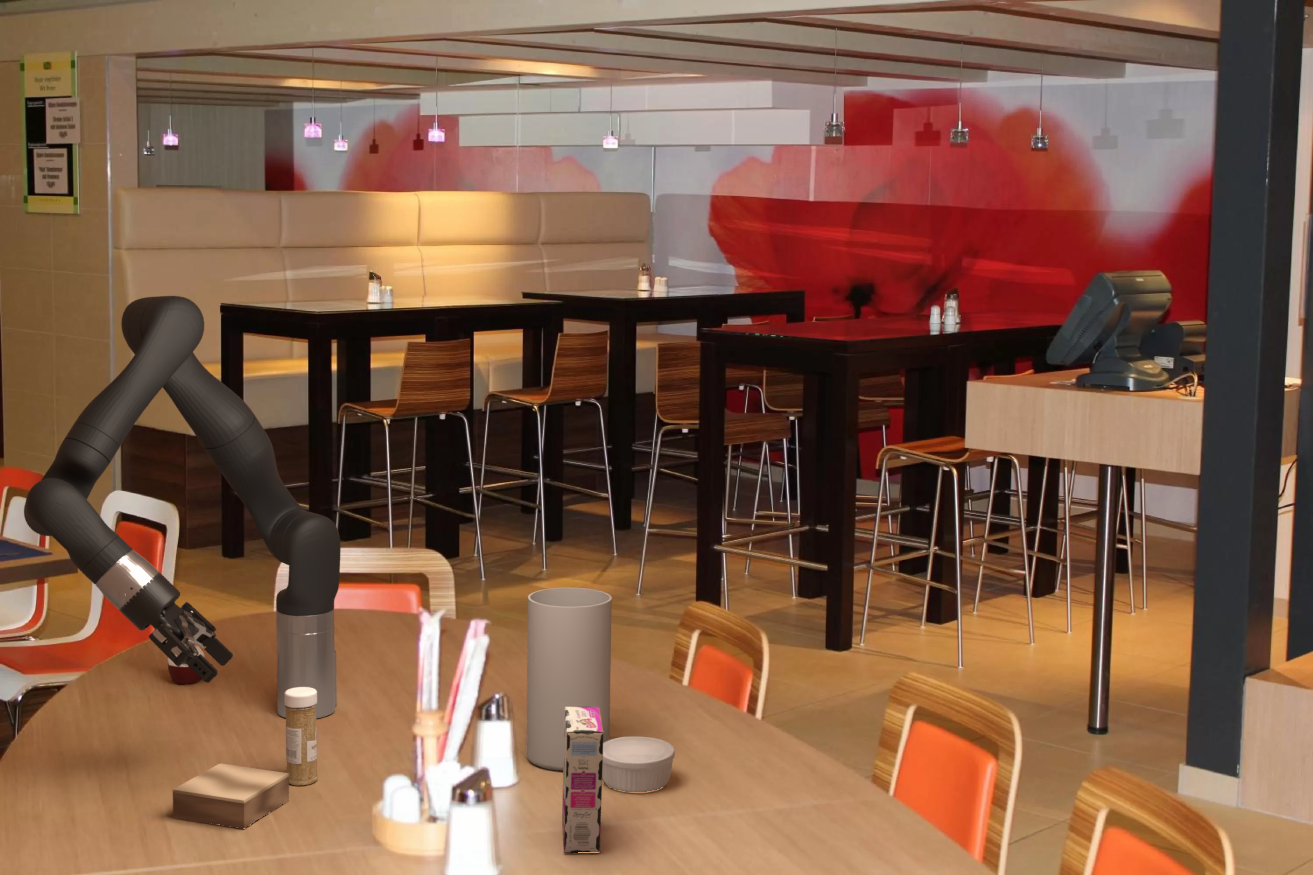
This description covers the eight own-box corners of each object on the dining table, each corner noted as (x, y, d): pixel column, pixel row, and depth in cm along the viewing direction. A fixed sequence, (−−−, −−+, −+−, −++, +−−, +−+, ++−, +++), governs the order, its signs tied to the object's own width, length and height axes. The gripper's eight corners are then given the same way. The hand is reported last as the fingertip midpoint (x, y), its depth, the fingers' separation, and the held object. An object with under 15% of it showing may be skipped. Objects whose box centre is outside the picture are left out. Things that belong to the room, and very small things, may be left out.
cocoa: (217, 682, 271) (220, 615, 269) (194, 690, 265) (196, 622, 263) (173, 673, 274) (176, 607, 273) (149, 681, 268) (152, 613, 267)
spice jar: (322, 782, 222) (322, 692, 220) (292, 788, 220) (291, 696, 218) (311, 773, 226) (310, 683, 224) (280, 778, 224) (279, 688, 222)
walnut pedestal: (220, 790, 219) (220, 763, 218) (289, 800, 215) (288, 773, 215) (173, 817, 208) (172, 789, 208) (244, 829, 205) (243, 800, 204)
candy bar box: (602, 854, 199) (604, 731, 197) (563, 855, 199) (565, 731, 196) (598, 821, 210) (600, 704, 208) (561, 821, 210) (563, 704, 207)
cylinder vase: (577, 778, 226) (580, 611, 223) (509, 761, 233) (511, 599, 229) (624, 754, 237) (627, 595, 233) (558, 739, 243) (560, 583, 240)
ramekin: (618, 802, 218) (618, 766, 217) (584, 776, 227) (585, 741, 227) (688, 790, 223) (688, 754, 222) (652, 765, 233) (653, 731, 232)
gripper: (141, 583, 211) (227, 665, 213) (170, 560, 225) (251, 638, 227) (102, 620, 212) (189, 702, 214) (134, 595, 226) (215, 673, 228)
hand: (221, 669), depth 220 cm, fingers open, 8 cm apart
